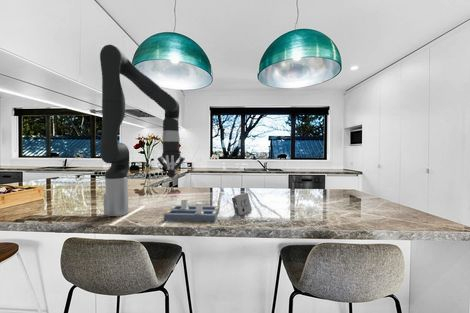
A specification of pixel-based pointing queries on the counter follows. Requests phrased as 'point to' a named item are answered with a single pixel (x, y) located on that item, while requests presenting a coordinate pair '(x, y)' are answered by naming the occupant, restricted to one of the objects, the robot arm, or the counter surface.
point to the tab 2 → (199, 208)
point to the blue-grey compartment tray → (192, 213)
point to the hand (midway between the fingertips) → (171, 177)
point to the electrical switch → (241, 204)
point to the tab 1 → (184, 203)
